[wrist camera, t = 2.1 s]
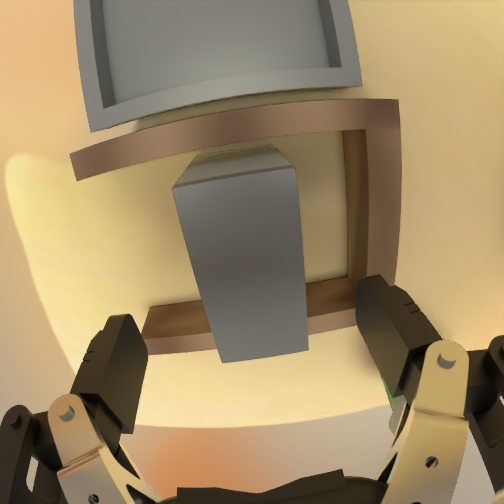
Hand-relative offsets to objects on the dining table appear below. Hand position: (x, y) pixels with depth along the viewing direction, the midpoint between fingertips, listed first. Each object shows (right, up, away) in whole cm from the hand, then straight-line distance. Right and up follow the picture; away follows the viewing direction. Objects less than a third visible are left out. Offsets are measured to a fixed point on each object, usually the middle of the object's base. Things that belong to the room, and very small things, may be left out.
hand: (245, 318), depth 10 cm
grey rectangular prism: (0, +4, +8) cm, 9 cm away
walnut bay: (0, +4, +8) cm, 9 cm away
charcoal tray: (-2, +17, +1) cm, 17 cm away
